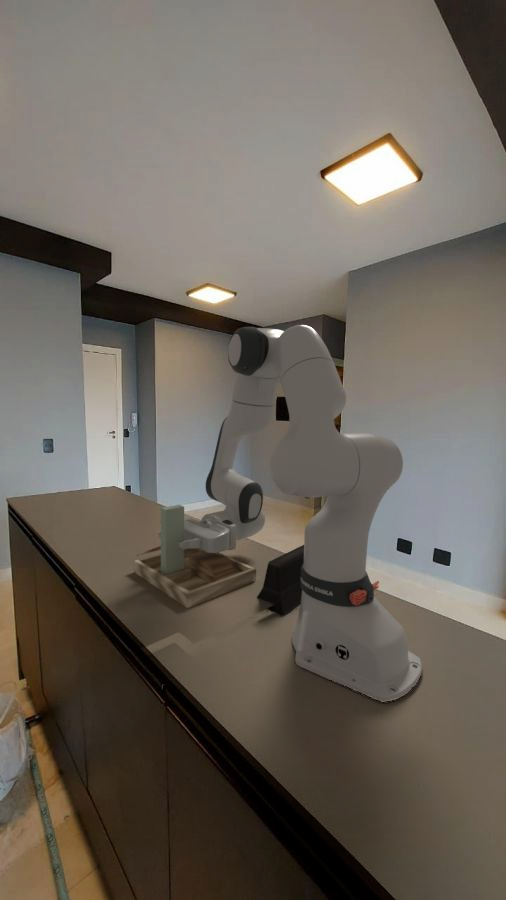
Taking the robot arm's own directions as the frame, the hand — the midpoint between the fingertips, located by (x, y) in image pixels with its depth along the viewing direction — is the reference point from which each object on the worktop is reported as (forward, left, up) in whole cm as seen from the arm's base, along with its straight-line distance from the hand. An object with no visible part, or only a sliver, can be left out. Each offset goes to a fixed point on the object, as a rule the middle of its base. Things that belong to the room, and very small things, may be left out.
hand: (169, 540), depth 90 cm
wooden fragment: (+20, -16, -12) cm, 28 cm away
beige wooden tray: (-2, -6, -12) cm, 13 cm away
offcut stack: (-3, -10, -10) cm, 14 cm away
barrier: (-22, -22, -12) cm, 33 cm away
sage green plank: (0, -1, -10) cm, 10 cm away
